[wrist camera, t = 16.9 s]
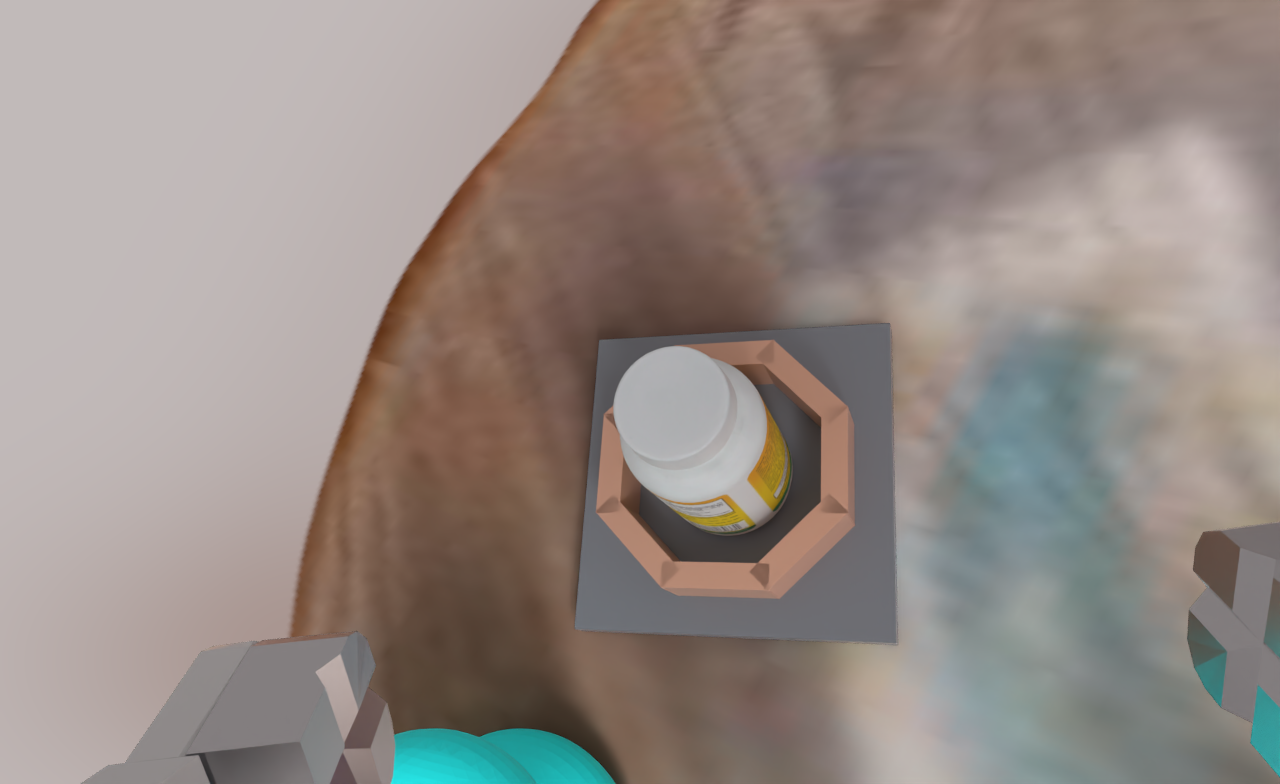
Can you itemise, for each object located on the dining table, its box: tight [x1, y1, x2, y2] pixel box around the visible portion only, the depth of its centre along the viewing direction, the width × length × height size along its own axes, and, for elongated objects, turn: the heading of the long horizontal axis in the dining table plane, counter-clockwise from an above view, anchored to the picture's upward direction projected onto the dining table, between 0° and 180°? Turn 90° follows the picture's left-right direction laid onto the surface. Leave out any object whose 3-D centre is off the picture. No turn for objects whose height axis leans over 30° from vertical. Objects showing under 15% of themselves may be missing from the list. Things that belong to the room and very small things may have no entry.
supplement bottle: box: [613, 346, 793, 536], centre depth 35 cm, size 5×5×10 cm
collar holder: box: [575, 323, 898, 645], centre depth 39 cm, size 13×13×4 cm
